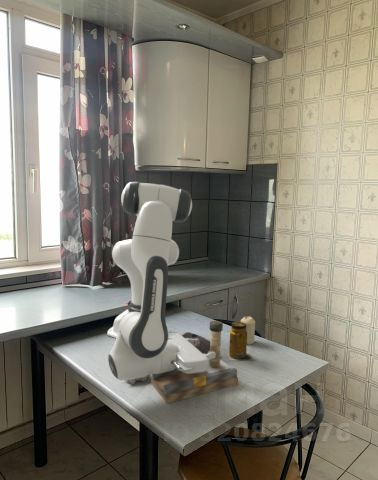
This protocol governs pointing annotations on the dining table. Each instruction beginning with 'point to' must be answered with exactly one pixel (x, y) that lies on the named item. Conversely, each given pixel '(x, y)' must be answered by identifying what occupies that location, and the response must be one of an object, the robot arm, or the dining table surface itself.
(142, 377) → the egg carton
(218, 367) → the press handle
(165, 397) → the press base
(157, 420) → the dining table surface
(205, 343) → the perforated stone tool
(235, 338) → the condiment
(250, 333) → the candle
